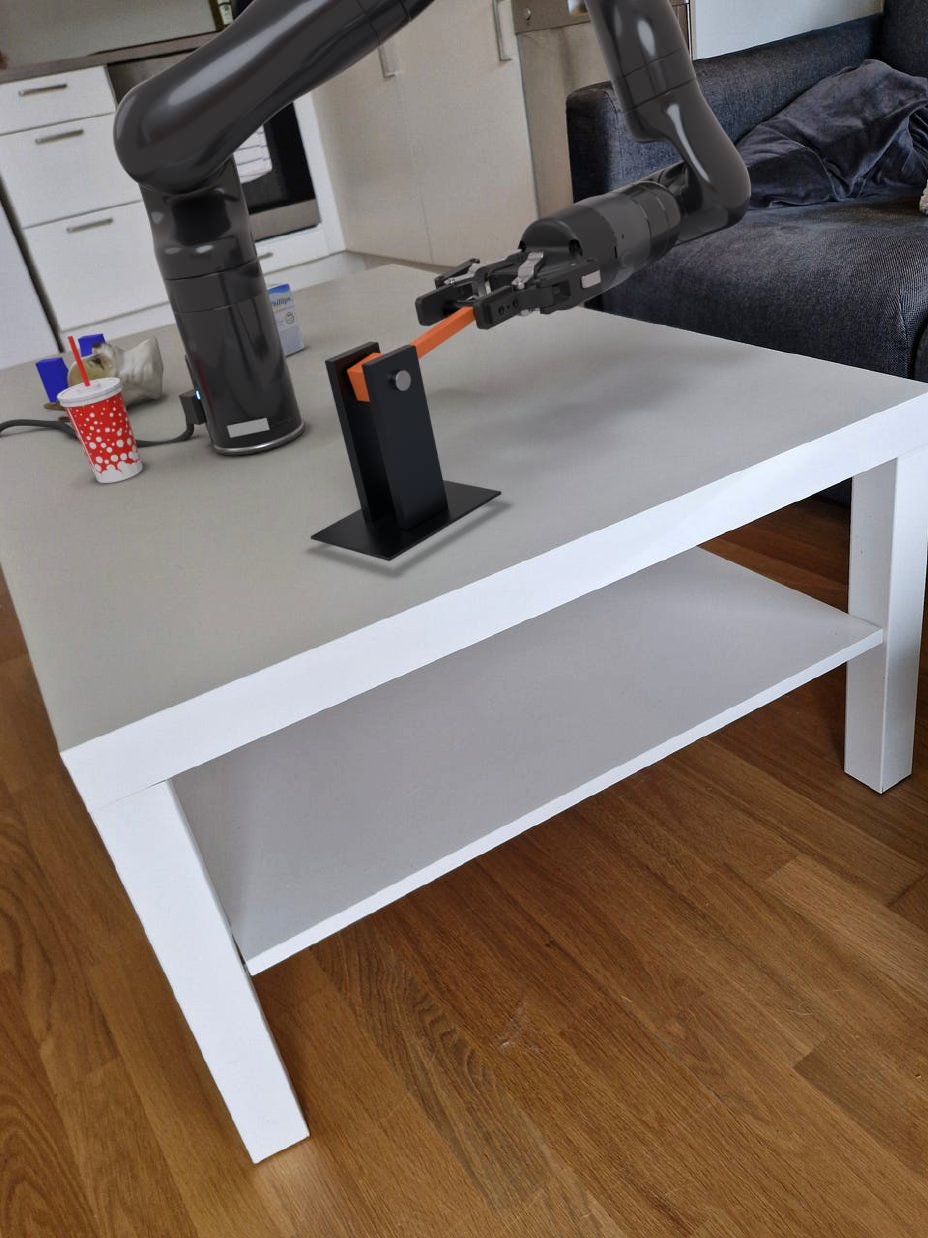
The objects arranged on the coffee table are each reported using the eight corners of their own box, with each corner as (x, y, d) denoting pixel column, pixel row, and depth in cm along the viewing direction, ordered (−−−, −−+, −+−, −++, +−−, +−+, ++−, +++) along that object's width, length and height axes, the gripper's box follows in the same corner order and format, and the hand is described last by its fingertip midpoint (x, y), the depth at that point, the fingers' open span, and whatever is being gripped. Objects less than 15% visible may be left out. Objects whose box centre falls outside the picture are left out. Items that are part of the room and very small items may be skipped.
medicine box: (243, 356, 139) (225, 291, 135) (268, 346, 142) (251, 281, 137) (281, 359, 134) (263, 291, 130) (306, 348, 137) (289, 281, 132)
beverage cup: (161, 465, 104) (114, 327, 98) (108, 489, 101) (55, 348, 94) (130, 458, 108) (83, 325, 102) (79, 481, 105) (25, 345, 98)
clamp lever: (459, 319, 82) (450, 290, 81) (510, 321, 79) (502, 291, 77) (342, 398, 76) (331, 368, 74) (393, 405, 72) (381, 373, 71)
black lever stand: (424, 489, 86) (388, 324, 79) (504, 506, 80) (473, 329, 73) (314, 551, 79) (265, 376, 73) (392, 574, 73) (347, 386, 67)
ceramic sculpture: (161, 326, 120) (36, 373, 115) (189, 397, 125) (69, 444, 119) (139, 317, 129) (21, 360, 124) (165, 383, 133) (52, 427, 128)
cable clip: (89, 380, 143) (73, 337, 140) (117, 376, 142) (102, 333, 139) (42, 410, 133) (24, 364, 130) (73, 406, 132) (55, 360, 129)
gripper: (513, 206, 90) (373, 263, 80) (652, 199, 80) (511, 264, 71) (527, 293, 94) (395, 357, 84) (661, 296, 84) (529, 369, 75)
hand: (449, 314), depth 78 cm, fingers closed on clamp lever, 5 cm apart
